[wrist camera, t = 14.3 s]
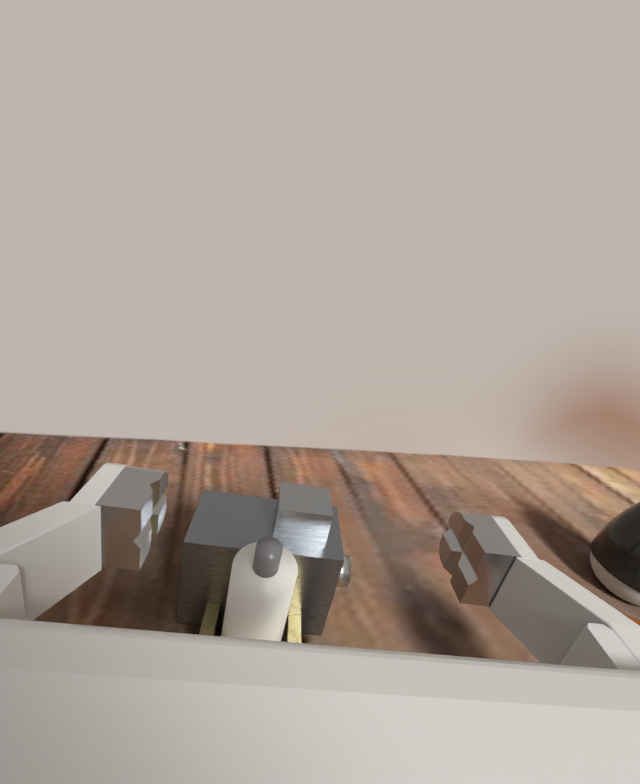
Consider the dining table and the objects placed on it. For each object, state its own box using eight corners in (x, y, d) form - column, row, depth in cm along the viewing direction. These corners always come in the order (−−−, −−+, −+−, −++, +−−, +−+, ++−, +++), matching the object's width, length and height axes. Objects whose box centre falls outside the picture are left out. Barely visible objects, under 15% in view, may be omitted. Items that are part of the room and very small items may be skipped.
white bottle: (209, 697, 29) (229, 571, 24) (222, 635, 34) (240, 518, 28) (271, 701, 30) (303, 579, 24) (275, 640, 34) (302, 526, 29)
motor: (151, 696, 28) (158, 577, 24) (196, 562, 40) (206, 465, 36) (347, 708, 30) (389, 600, 25) (333, 577, 42) (360, 487, 38)
